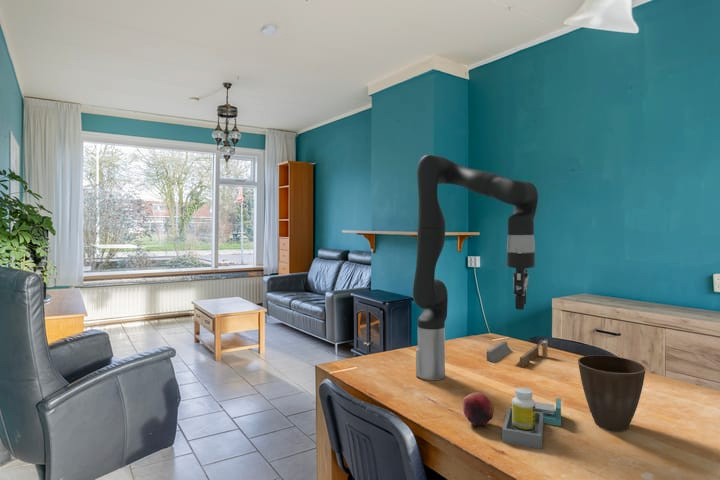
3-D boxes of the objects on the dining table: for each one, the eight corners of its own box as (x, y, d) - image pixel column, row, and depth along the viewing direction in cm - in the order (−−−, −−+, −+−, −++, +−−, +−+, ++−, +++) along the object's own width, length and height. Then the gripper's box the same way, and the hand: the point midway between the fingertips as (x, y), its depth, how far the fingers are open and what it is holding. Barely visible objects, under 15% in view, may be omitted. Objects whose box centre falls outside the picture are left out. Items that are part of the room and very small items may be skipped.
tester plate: (530, 411, 115) (530, 407, 115) (531, 404, 119) (531, 401, 119) (554, 414, 113) (553, 410, 112) (554, 408, 117) (554, 404, 116)
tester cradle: (523, 419, 114) (523, 403, 114) (525, 409, 121) (525, 393, 121) (561, 426, 111) (560, 408, 111) (560, 415, 117) (560, 398, 117)
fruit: (492, 419, 115) (492, 389, 115) (495, 432, 108) (495, 401, 107) (463, 416, 117) (462, 387, 117) (463, 429, 109) (463, 398, 109)
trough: (502, 441, 103) (502, 429, 103) (508, 418, 115) (508, 407, 115) (541, 448, 99) (541, 436, 99) (543, 424, 112) (543, 412, 112)
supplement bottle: (537, 435, 104) (537, 395, 104) (513, 433, 105) (513, 393, 105) (533, 425, 110) (532, 386, 109) (510, 423, 111) (510, 385, 111)
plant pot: (618, 444, 101) (618, 376, 101) (565, 419, 115) (565, 359, 114) (659, 431, 107) (659, 367, 107) (603, 409, 121) (604, 352, 120)
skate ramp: (497, 346, 187) (497, 329, 187) (587, 360, 165) (587, 341, 165) (469, 363, 164) (469, 343, 164) (569, 383, 142) (569, 360, 142)
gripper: (509, 249, 132) (509, 302, 133) (504, 251, 119) (504, 310, 120) (536, 249, 129) (536, 303, 130) (533, 252, 116) (533, 312, 117)
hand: (520, 306), depth 125 cm, fingers open, 8 cm apart
